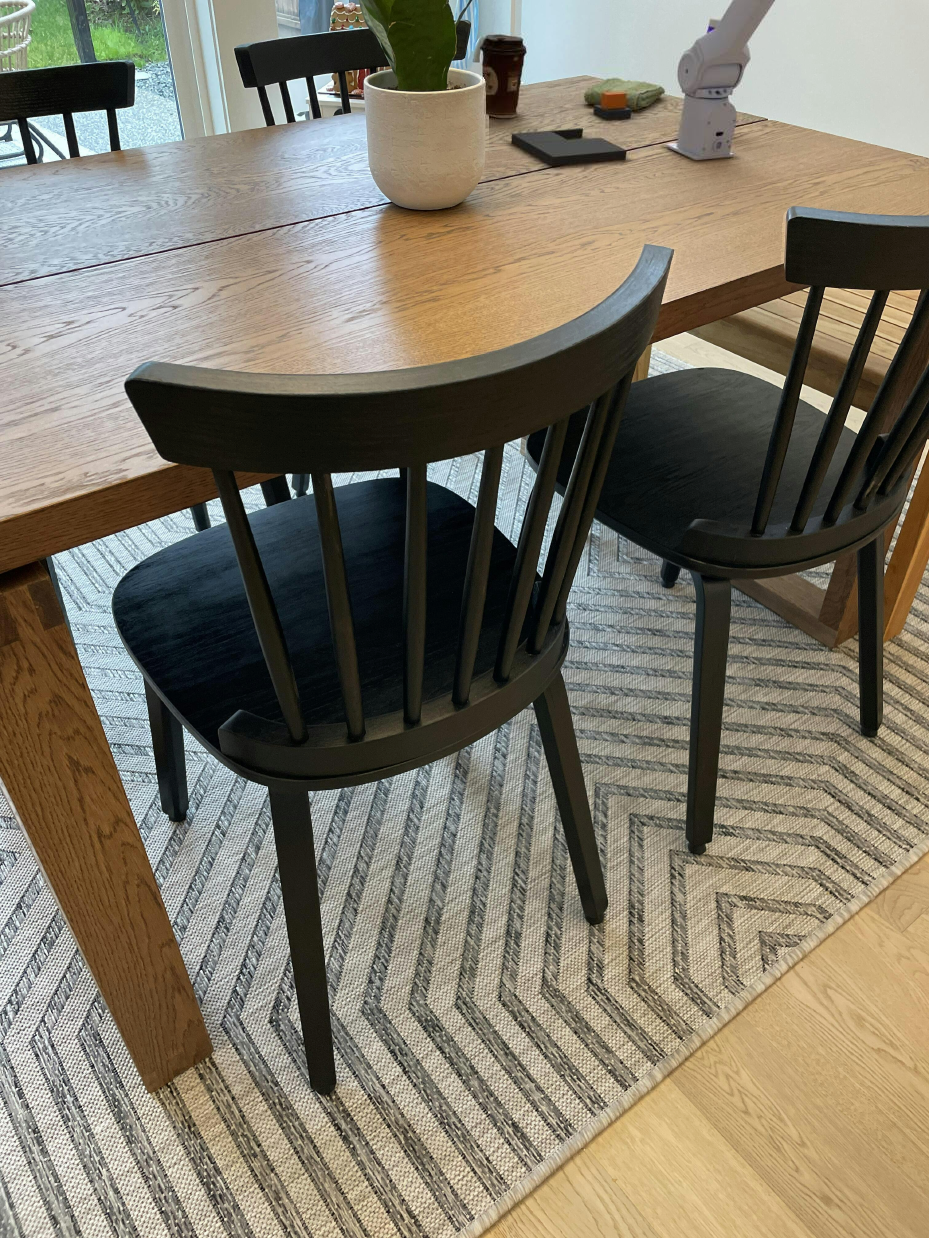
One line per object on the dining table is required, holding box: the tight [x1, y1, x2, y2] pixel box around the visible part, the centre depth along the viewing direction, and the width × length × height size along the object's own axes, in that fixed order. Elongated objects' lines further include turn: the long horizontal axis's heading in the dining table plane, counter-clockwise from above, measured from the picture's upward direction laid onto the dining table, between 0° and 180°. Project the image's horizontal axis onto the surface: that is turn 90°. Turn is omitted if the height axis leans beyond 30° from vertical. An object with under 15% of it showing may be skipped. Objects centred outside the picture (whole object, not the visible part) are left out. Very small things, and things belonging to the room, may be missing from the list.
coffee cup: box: [479, 33, 527, 119], centre depth 175 cm, size 9×8×13 cm
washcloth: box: [583, 77, 666, 111], centre depth 190 cm, size 13×18×3 cm
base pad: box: [510, 127, 628, 168], centre depth 159 cm, size 16×14×2 cm
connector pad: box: [593, 91, 633, 121], centre depth 179 cm, size 5×5×4 cm
